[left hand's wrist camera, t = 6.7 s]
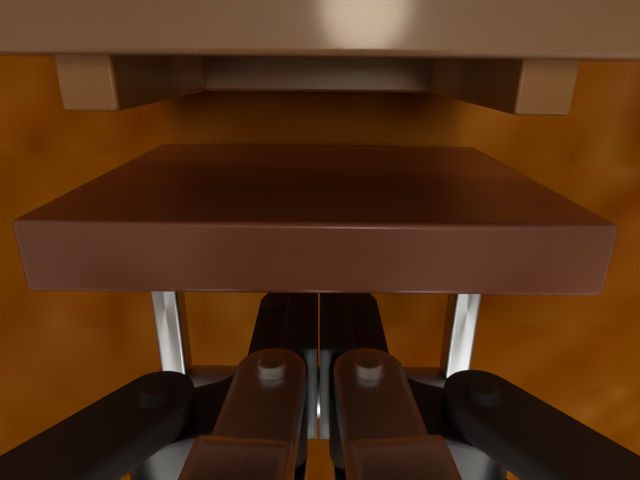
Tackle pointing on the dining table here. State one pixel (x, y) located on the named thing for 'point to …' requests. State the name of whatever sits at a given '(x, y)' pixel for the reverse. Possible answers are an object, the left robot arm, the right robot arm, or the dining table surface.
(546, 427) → the left robot arm
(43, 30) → the wooden drawer box
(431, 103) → the dining table surface
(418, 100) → the dining table surface
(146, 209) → the drawer
